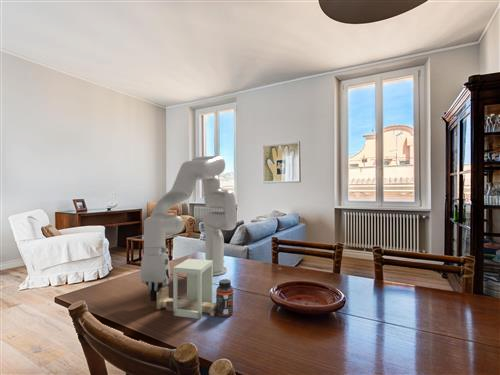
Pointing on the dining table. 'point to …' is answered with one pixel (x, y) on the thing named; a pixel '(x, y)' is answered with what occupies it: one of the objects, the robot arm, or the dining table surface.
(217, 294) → the supplement bottle
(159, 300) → the rod
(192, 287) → the tunnel
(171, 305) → the guide
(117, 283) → the dining table surface
